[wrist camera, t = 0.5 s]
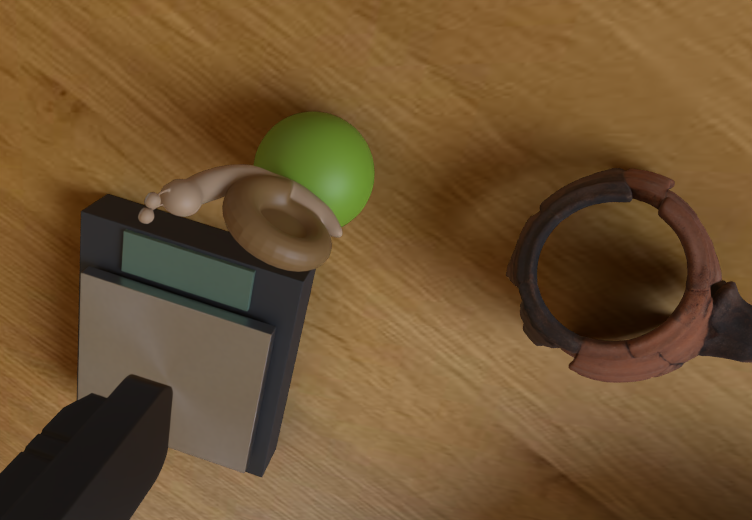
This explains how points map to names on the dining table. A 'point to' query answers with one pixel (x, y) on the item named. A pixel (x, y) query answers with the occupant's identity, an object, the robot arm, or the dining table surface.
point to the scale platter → (177, 361)
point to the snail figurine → (284, 191)
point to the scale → (205, 287)
